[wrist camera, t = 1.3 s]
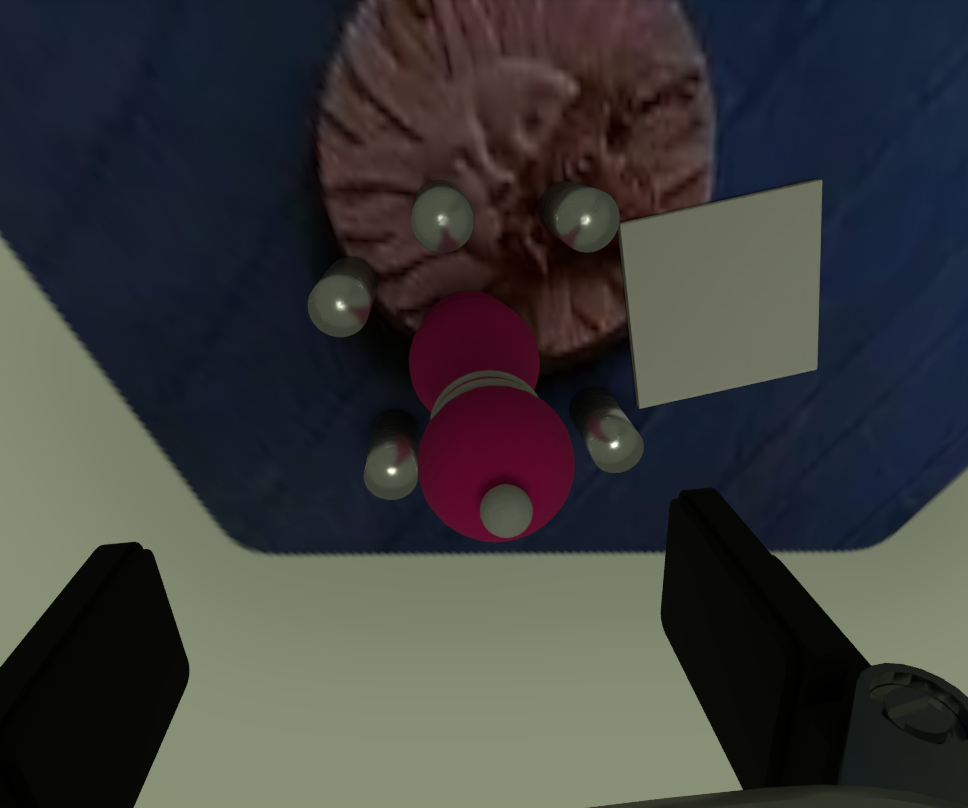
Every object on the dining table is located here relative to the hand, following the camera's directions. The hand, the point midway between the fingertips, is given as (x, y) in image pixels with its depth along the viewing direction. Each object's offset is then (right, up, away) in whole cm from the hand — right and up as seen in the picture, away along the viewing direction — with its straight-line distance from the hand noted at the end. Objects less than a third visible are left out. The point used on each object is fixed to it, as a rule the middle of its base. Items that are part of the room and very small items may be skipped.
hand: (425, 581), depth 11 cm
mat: (+16, +10, +27) cm, 33 cm away
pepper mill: (0, +7, +27) cm, 28 cm away
